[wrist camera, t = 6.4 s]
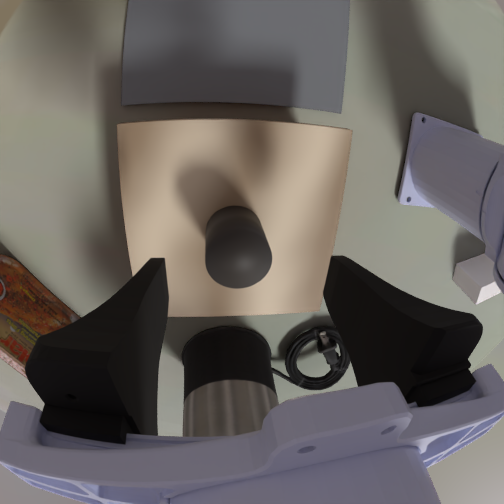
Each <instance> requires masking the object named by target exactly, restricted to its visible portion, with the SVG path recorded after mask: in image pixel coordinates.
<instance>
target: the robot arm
mask: <svg viewBox="0 0 504 504" xmlns="http://www.w3.org/2000/svg"><path fill="white" fill-rule="evenodd" d="M422 118H423V122H422ZM408 197H409V198H408ZM407 198H408V200H407V201H406V199H407ZM398 202H399V203H401V204H404V205H415V206H424V207H433V208H437V209H438V210H440V211H441V212H443V213H444V214H446V215H447V216H449V217H450V218H452V219H453V220H454V221H456V222H457V223H459V224H460V225H461V226H463V227H464V228H465V229H467V230H468V231H470V232H471V233H472V234H474V235H475V236H476V237H478V238H479V239H480V240H481V241H483V242H484V243H485V245H486V248H485V255H486V256H487V257H488V258H490V259H491V260H492V261H493V262H494V267H493V276H494V280H495V282H496V284H497V286H498V287H499V289H500V290H501V291H502V293H503V294H504V145H501V144H499V143H496V142H493V141H491V140H488V139H485V138H483V136H482V135H480V134H477V133H475V132H472V131H470V130H467V129H465V128H462V127H459V126H457V125H454V124H451V123H449V122H446V121H443V120H440V119H437V118H434V117H431V116H428V115H425V114H422V113H418V112H416V113H414V114H413V117H412V124H411V131H410V137H409V143H408V149H407V155H406V160H405V165H404V170H403V175H402V180H401V185H400V189H399V194H398ZM323 296H324V299H325V302H326V306H327V309H328V311H329V314H330V316H331V318H332V320H333V322H334V324H335V326H336V328H337V330H338V333H339V335H340V337H341V339H342V341H343V343H344V345H345V347H346V350H347V352H348V354H349V357H350V360H351V364H352V367H353V370H354V373H355V377H356V381H357V384H358V387H355V388H349V389H344V390H338V391H332V392H326V393H320V394H313V395H306V396H301V397H298V398H294V399H290V400H286V401H285V402H283V403H281V404H279V405H277V406H275V407H274V408H272V409H271V410H270V412H269V413H268V414H267V416H266V417H265V418H264V420H263V425H262V429H261V430H258V431H254V432H249V433H245V434H240V435H235V436H215V437H175V436H158V429H157V391H158V369H159V360H160V354H161V348H162V343H163V338H164V333H165V328H166V323H167V318H168V306H169V292H168V283H167V274H166V264H165V258H150V259H149V260H148V261H147V262H146V263H145V264H144V265H143V267H142V268H141V269H140V270H139V271H138V272H137V273H136V274H135V275H134V276H133V277H132V278H131V279H130V280H129V281H128V282H127V283H126V284H125V285H124V286H123V287H122V288H121V289H120V290H119V291H118V292H117V293H116V294H115V295H113V296H112V297H111V298H110V299H108V300H107V301H106V302H105V303H103V304H102V305H101V306H99V307H98V308H96V309H95V310H93V311H91V312H90V313H88V314H87V315H85V316H84V317H82V318H80V319H78V320H77V321H75V322H73V323H71V324H69V325H67V326H65V327H63V328H60V329H58V330H55V331H53V332H50V333H48V334H45V335H43V336H40V337H38V339H37V341H36V343H35V345H34V347H33V349H32V351H31V353H30V356H29V358H28V360H27V362H26V365H25V373H26V376H27V378H28V380H29V382H30V384H31V385H32V387H33V388H34V389H35V391H36V392H37V394H38V395H39V396H40V398H41V399H42V401H43V402H44V403H45V405H44V408H43V412H42V411H41V410H39V409H38V408H36V407H33V406H30V405H26V404H22V403H18V402H14V401H11V402H10V405H9V407H8V410H7V413H6V416H5V419H4V422H3V425H2V428H1V431H0V464H1V465H3V466H4V467H6V468H7V469H8V470H9V471H11V472H12V473H14V474H15V475H16V476H18V477H19V478H21V479H22V480H24V481H25V482H27V483H28V484H30V485H32V486H34V487H37V488H40V489H43V490H46V491H49V492H52V493H55V494H58V495H61V496H64V497H67V498H71V499H74V500H77V501H81V502H84V503H88V504H441V502H440V500H439V498H438V495H437V492H436V490H435V488H434V485H433V483H432V480H431V478H430V476H429V473H428V471H427V469H426V468H428V467H430V466H432V465H434V464H436V463H437V462H439V461H441V460H443V459H444V458H446V457H448V456H450V455H451V454H453V453H455V452H456V451H458V450H460V449H462V448H463V447H465V446H467V445H468V444H470V443H471V442H473V441H475V440H476V439H478V438H479V437H481V436H483V435H484V434H486V432H488V431H489V430H490V429H491V428H492V427H493V426H494V425H495V424H496V423H497V422H498V421H499V420H500V419H501V418H502V417H503V416H504V381H503V380H502V378H501V377H500V376H499V374H498V373H497V371H496V370H495V368H494V367H493V366H492V364H488V365H486V366H483V367H481V368H479V369H477V370H475V371H474V372H473V373H472V374H471V373H470V371H469V369H468V368H470V366H471V363H470V362H469V361H468V358H469V356H470V355H471V353H472V352H473V350H474V349H475V347H476V345H477V344H478V342H479V340H480V338H481V335H482V332H483V326H482V324H481V323H480V322H479V320H478V319H477V318H476V317H475V316H474V315H473V314H470V313H465V312H460V311H455V310H451V309H448V308H444V307H441V306H438V305H435V304H432V303H429V302H426V301H424V300H421V299H419V298H416V297H414V296H412V295H410V294H408V293H406V292H404V291H402V290H400V289H398V288H396V287H394V286H392V285H391V284H389V283H387V282H386V281H384V280H382V279H381V278H379V277H377V276H376V275H374V274H373V273H371V272H370V271H368V270H367V269H365V268H363V267H362V266H360V265H359V264H357V263H356V262H354V261H352V260H351V259H349V258H347V257H345V256H331V258H330V263H329V268H328V272H327V277H326V281H325V285H324V290H323Z"/></svg>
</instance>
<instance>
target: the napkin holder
mask: <svg viewBox="0 0 504 504" xmlns="http://www.w3.org/2000/svg"><path fill="white" fill-rule="evenodd" d="M493 267H494V262H493V261H492V260H491V259H490V258H488V257H487V256H486V255H485V253H484V254H481V255H479V256H476V257H473V258H471V259H468V260H465V261H462V262H460V263H457V264H456V267H455V271H454V276H453V281H454V282H455V283H456V284H457V285H458V286H459V287H460V288H461V290H462V291H463V292H464V293H465V294H466V295H467V296H468V297H469V298H470V299H471V300H472V301H473V302H474V303H475V304H478V303H480V302H483V301H485V300H487V299H489V298H491V297H492V296H494V295H496V294H498V293H500V292H502V291H501V290H500V289H499V287H498V286H497V284H496V282H495V280H494V276H493Z"/></svg>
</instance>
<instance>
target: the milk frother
mask: <svg viewBox="0 0 504 504" xmlns="http://www.w3.org/2000/svg"><path fill="white" fill-rule="evenodd" d="M316 339H319V340H318V342H317V345H318V352H319V353H323V355H324V357H325V358H326V361H327V364H330V368H331V370H330V371H329V372H328V373H327V374H326V375H325V376H322V377H316V378H315V377H308V376H306V375H304V374H302V373H301V372H300V371H299V370H298V368H297V364H296V361H297V357H298V355H299V353H300V351H301V350H302V349H303V348H304V346H306V345H307V344H308V343H310V342H312V341H314V340H316ZM336 343H337V344H338V345H339V348H340V354H341V355H340V357H339V354H338V353H337V352H336V351H335V348H336V347H337V344H336ZM270 359H271V349H270V347H269V345H268V343H267V342H266V341H265V339H264V338H263V337H261V336H260V335H258V334H257V333H255V332H252V331H250V330H247V329H244V328H238V327H219V328H214V329H209V330H206V331H204V332H201V333H199V334H198V335H196V336H194V337H193V338H192V339H191V340H190V341H189V342H188V343H187V344H186V345H185V347H184V350H183V352H182V362H183V365H184V410H183V437H215V436H235V435H240V434H245V433H249V432H254V431H258V430H261V429H262V425H263V420H264V418H265V417H266V416H267V414H268V413H269V412H270V410H271V409H272V408H274V407H275V406H277V405H279V402H278V398H277V394H276V389H275V384H274V379H273V374H272V373H274V374H276V375H278V376H280V377H282V378H284V379H286V380H287V381H289V382H291V383H293V384H295V385H297V386H299V387H301V388H304V389H308V390H323V389H326V388H329V387H331V386H333V385H334V384H335V383H337V382H338V381H339V380H340V379H341V377H342V376H343V375H344V374H345V372H346V370H347V369H348V366H349V364H350V361H351V360H350V357H349V354H348V352H347V350H346V347H345V345H344V343H343V341H342V339H341V337H340V335H339V333H338V330H337V328H335V327H329V326H323V327H317V328H313V329H311V330H308V331H306V332H304V333H302V334H301V335H299V336H298V337H297V338H295V339H294V340H293V342H292V343H291V345H290V346H289V348H288V350H287V354H286V358H285V365H286V370H287V372H288V374H289V376H290V377H288V376H286V375H284V374H283V373H281V372H280V371H278V370H276V369H274V368H271V361H270Z"/></svg>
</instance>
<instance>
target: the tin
mask: <svg viewBox="0 0 504 504" xmlns="http://www.w3.org/2000/svg"><path fill="white" fill-rule="evenodd" d="M78 319H80V317H79V316H78V315H77V314H76V313H75V312H73V311H72V310H71V309H70V308H69V307H67V306H66V305H65V304H64V303H63V302H62V301H60V300H59V299H58V298H57V297H56V296H55V295H53V294H52V293H51V292H50V291H49V290H48V289H47V288H46V287H45V286H43V285H42V284H41V283H40V282H39V281H38V280H37V279H36V278H35V277H34V276H33V275H32V274H31V273H30V272H29V271H28V270H27V269H26V268H25V267H24V266H23V265H21V264H20V263H19V262H18V261H16V260H14V259H13V258H11V257H8V256H6V255H2V254H0V358H1V359H3V360H4V361H5V362H6V363H8V364H9V365H10V366H11V367H13V368H14V369H15V370H17V371H18V372H19V373H21V374H22V375H23V376H25V377H26V378H27V376H26V373H25V365H26V362H27V360H28V358H29V356H30V353H31V351H32V349H33V347H34V345H35V343H36V341H37V339H38V337H40V336H43V335H45V334H48V333H50V332H53V331H55V330H58V329H60V328H63V327H65V326H67V325H69V324H71V323H73V322H75V321H77V320H78ZM27 379H28V378H27Z"/></svg>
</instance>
